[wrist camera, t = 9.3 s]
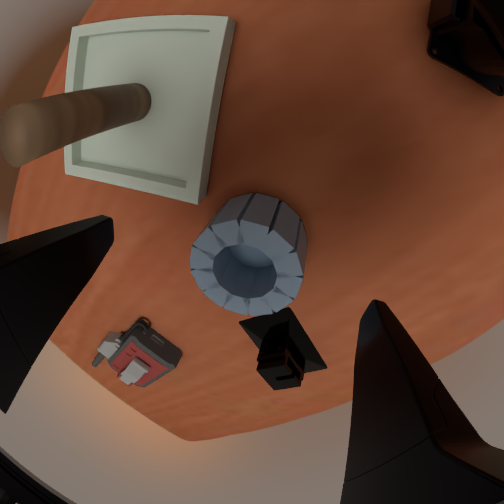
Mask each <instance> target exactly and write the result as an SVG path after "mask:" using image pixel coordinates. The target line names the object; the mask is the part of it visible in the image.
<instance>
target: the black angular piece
mask: <svg viewBox="0 0 504 504" xmlns="http://www.w3.org/2000/svg"><path fill="white" fill-rule="evenodd" d="M239 324H240V325H241V326H242V328H243V329H244V330H245V332H246V333H247V334H248V335H249V337H250V338H251V339H252V341H253V342H254V343H255V345H256V346H257V347H258V348H259V354H258V358H257V361H258V366H257V369H256V370H257V371H258V373H259V374H260V375H261V376H262V377H263V378H264V380H265V381H266V382H267V383H268V384H269V385H270V386H271V387H272V389H273V390H280V389H287V388H293V387H299V386H301V381H302V380H303V377H304V373H307V372H312V371H317V370H322V369H327V366H326V364H325V363H324V361H323V359H322V358H321V356H320V355H319V353H318V351H317V350H316V348H315V347H314V345H313V343H312V342H311V340H310V339H309V337H308V335H307V334H306V332H305V331H304V329H303V327H302V326H301V324H300V323H299V321H298V319H297V318H296V316H295V315H294V313H293V311H292V310H291V308H289V307H287V308H284V309H281V310H279V311H278V312H275V311H274V312H273V314H266V315H260V316H257V317H253V318H250V319H246V320H243V321H239Z"/></svg>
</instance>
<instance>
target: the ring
mask: <svg viewBox="0 0 504 504" xmlns="http://www.w3.org/2000/svg"><path fill="white" fill-rule="evenodd" d="M278 203H279V199H278V198H274V197H271V196H267V195H263V194H259V193H256V194H255V196H254V195H253V193H250V194H246V195H242V196H238V197H234V198H231V199H230V200H228V201H227V202H226V203H225V204H224V205H223V206H222V207H221V208H220V210H219V211H218V212H217V213H216V214H215V215H214V216H213V218H212V219H211V220H210V222H209V223H208V224H207V225H206V227H205V228H204V229H203V231H202V232H201V233H200V235H199V236H198V237H197V239H196V240H195V241H194V243H193V245H192V247H191V258H190V268H192V269H191V273H192V275H193V277H194V279H195V281H196V283H197V285H198V287H199V288H200V290H204V291H203V294H205V295H206V296H207V297H208V298H210V299H211V300H212V301H213V302H215V303H216V304H217V305H219V306H220V307H222V306H223V305H224V304H225V307H224V309H226V310H229V311H232V312H236V313H239V314H242V315H246V316H247V313H248V312H249V314H250V316H257V315H266V314H273V311H275V312H278V311H279V310H281V309H282V308H284V307H285V306H287V305H288V304H290V303H291V302H293V301H294V298H296V296H297V294H298V291H299V288H300V286H301V283H302V280H303V276H304V268H305V259H306V251H307V237H306V233H305V230H304V226H303V223H302V220H299V219H300V216H298V215H297V214H296V213H295V212H294V211H293V210H292V209H291V208H290V207H289V206H288V205H287V204H286V203H285V202H284V201H282V202H281V203H280V204H279V205H278Z"/></svg>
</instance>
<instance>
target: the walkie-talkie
mask: <svg viewBox="0 0 504 504" xmlns="http://www.w3.org/2000/svg"><path fill="white" fill-rule="evenodd" d="M97 350H98V351H99V354H98V355H97V356H96V358H95V359H94V361H93V362H92V366H93V367H97V366H98V364H99V363H100V362H101V361H102V359H103V358H104V357H107V358H108V359H109V360H108V363H109V365H110V366H111V367H112V368H113V369H114V370H115V371H117V372H118V375H117V377H118V378H119V379H120V380H122V381H123V382H125V383H126V384H127V385H129V386H131V385H132V384H133V383H134V384H135V385H136V386H140V387H146V386H148V385H149V384H151V383H152V382H154V381H156V380H157V379H159V378H161V376H163V375H165V374H166V373H168V372H170V371H172V369H174V368H176V366H177V364H178V362H179V360H180V358H181V356H182V352H181V350H180V349H179V348H177V347H176V346H175V345H173V344H172V343H171V342H169V341H168V340H167V339H165V338H164V337H162V336H161V335H160V334H158V333H157V332H156V331H155V330H153V329H152V328H151V327H149V325H148V324H147V323H146V322H145V321H144V320H138V321H136V322H135V324H134V325H133V326H132V327H131V328H130V329H129V331H128V332H127V333H126V334H123V333H114V332H110V334H109V335H108V336H107V338H106V339H104V340H103V341H102V343H101V344H100V345H99V347H98V348H97Z"/></svg>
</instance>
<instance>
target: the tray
mask: <svg viewBox="0 0 504 504" xmlns="http://www.w3.org/2000/svg"><path fill="white" fill-rule="evenodd" d="M235 26H236V22H235V21H234V20H232V19H231V18H229V17H225V16H206V15H165V16H147V17H135V18H125V19H117V20H109V21H103V22H97V23H91V24H85V25H80V26H76V27H72V33H71V39H70V46H69V53H68V62H67V71H66V83H65V93H68V92H73V91H78V90H84V89H90V88H97V87H104V86H112V85H120V84H130V83H139V84H142V85H144V86H145V87H146V88H147V89H148V90H149V92H150V95H151V108H150V110H149V112H148V114H147V115H146V116H145V117H144V118H143V119H141V120H139V121H136V122H133V123H129V124H126V125H123V126H120V127H117V128H113V129H110V130H107V131H105V132H102V133H99V134H96V135H93V136H90V137H88V138H85V139H82V140H80V141H77V142H74V143H72V144H69V145H67V146H64V160H65V174H68V175H73V176H78V177H82V178H87V179H91V180H96V181H100V182H105V183H109V184H114V185H118V186H122V187H127V188H131V189H135V190H139V191H144V192H148V193H152V194H156V195H160V196H164V197H168V198H172V199H176V200H180V201H184V202H188V203H192V204H196V205H198V204H199V203H200V202H201V201H202V200H203V199H204V197H205V196H206V194H207V187H208V179H209V172H210V165H211V158H212V152H213V145H214V138H215V132H216V126H217V120H218V114H219V108H220V102H221V96H222V91H223V85H224V80H225V75H226V69H227V64H228V59H229V54H230V49H231V44H232V40H233V35H234V30H235Z"/></svg>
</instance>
